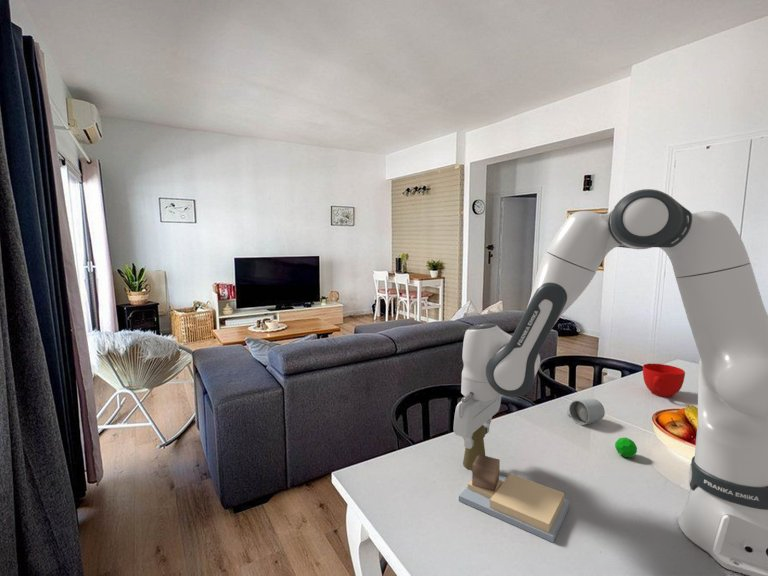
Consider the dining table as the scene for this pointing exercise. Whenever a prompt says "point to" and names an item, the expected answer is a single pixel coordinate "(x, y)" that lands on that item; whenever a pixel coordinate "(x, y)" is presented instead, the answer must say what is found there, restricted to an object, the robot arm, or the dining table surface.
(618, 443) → the polyhedron
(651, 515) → the dining table surface
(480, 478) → the walnut cube
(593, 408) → the ceramic mug
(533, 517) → the base board
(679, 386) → the red bowl
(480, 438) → the olive pawn
